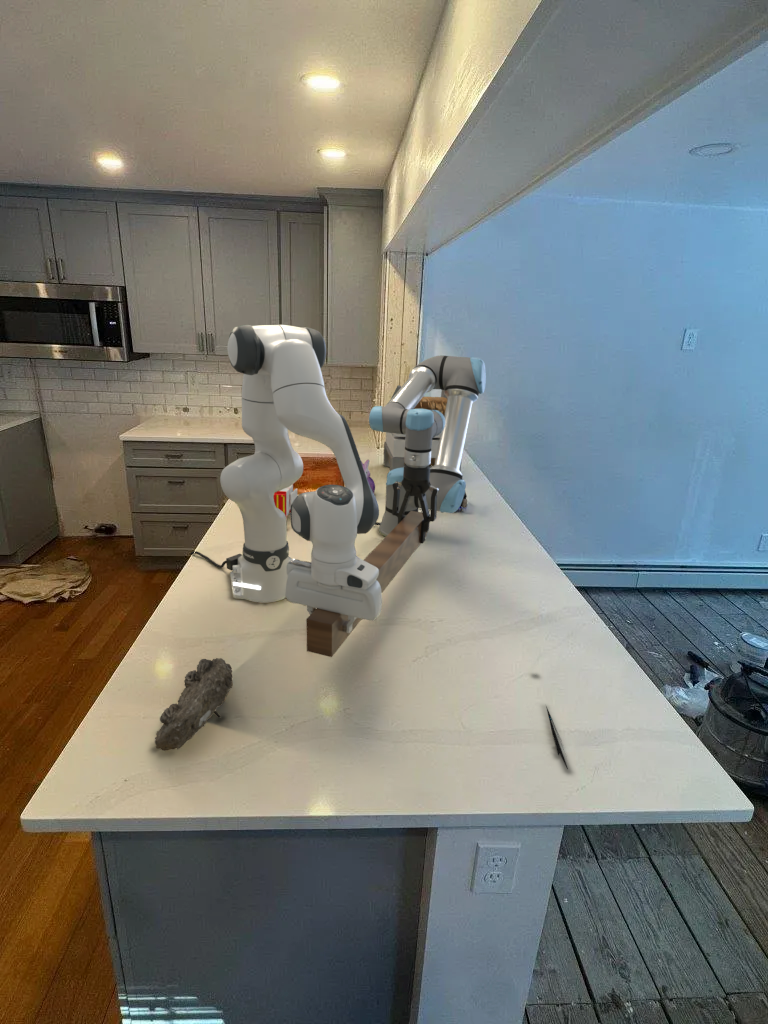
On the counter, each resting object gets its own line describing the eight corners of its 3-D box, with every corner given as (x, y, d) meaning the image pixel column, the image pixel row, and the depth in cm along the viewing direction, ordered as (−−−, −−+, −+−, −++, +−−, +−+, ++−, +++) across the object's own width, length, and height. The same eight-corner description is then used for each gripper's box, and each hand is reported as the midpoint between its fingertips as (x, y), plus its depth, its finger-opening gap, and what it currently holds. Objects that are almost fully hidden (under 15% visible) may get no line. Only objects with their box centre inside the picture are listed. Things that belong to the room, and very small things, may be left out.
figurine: (360, 499, 233) (361, 464, 228) (349, 492, 242) (350, 458, 237) (380, 497, 237) (381, 462, 232) (369, 490, 246) (370, 456, 241)
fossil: (182, 659, 118) (233, 627, 113) (214, 689, 120) (265, 659, 115) (130, 744, 98) (189, 710, 93) (170, 778, 101) (229, 746, 96)
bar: (409, 533, 175) (410, 510, 173) (426, 536, 173) (428, 513, 171) (306, 651, 113) (306, 618, 111) (331, 657, 112) (332, 624, 109)
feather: (536, 679, 125) (541, 673, 125) (567, 774, 99) (575, 766, 98) (529, 675, 125) (535, 669, 124) (559, 769, 98) (567, 762, 98)
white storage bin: (382, 463, 289) (386, 382, 275) (445, 464, 293) (451, 384, 279) (390, 482, 257) (394, 392, 243) (460, 483, 261) (468, 394, 247)
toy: (299, 479, 223) (289, 492, 194) (299, 512, 226) (289, 530, 197) (268, 478, 223) (253, 491, 193) (268, 512, 225) (254, 529, 196)
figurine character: (467, 516, 223) (461, 500, 237) (469, 499, 220) (463, 483, 233) (450, 516, 223) (446, 499, 236) (452, 498, 220) (447, 483, 233)
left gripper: (279, 563, 113) (280, 624, 117) (375, 584, 107) (372, 646, 111) (294, 551, 118) (294, 609, 123) (386, 570, 112) (383, 630, 117)
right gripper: (381, 463, 160) (379, 539, 168) (445, 472, 155) (439, 549, 163) (390, 457, 167) (387, 530, 175) (452, 465, 161) (445, 540, 169)
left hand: (332, 627), depth 117 cm, fingers closed on bar, 5 cm apart
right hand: (412, 539), depth 169 cm, fingers closed on bar, 5 cm apart
